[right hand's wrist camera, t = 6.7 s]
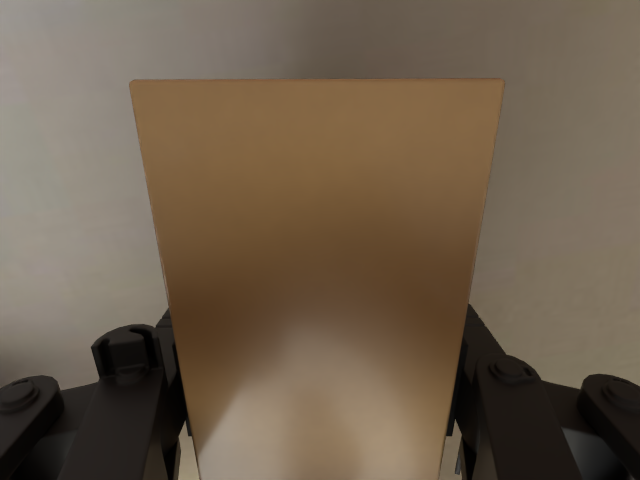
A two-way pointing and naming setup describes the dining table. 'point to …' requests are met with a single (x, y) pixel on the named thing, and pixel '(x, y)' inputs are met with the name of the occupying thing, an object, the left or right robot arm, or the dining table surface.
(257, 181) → the bar
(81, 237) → the dining table surface
